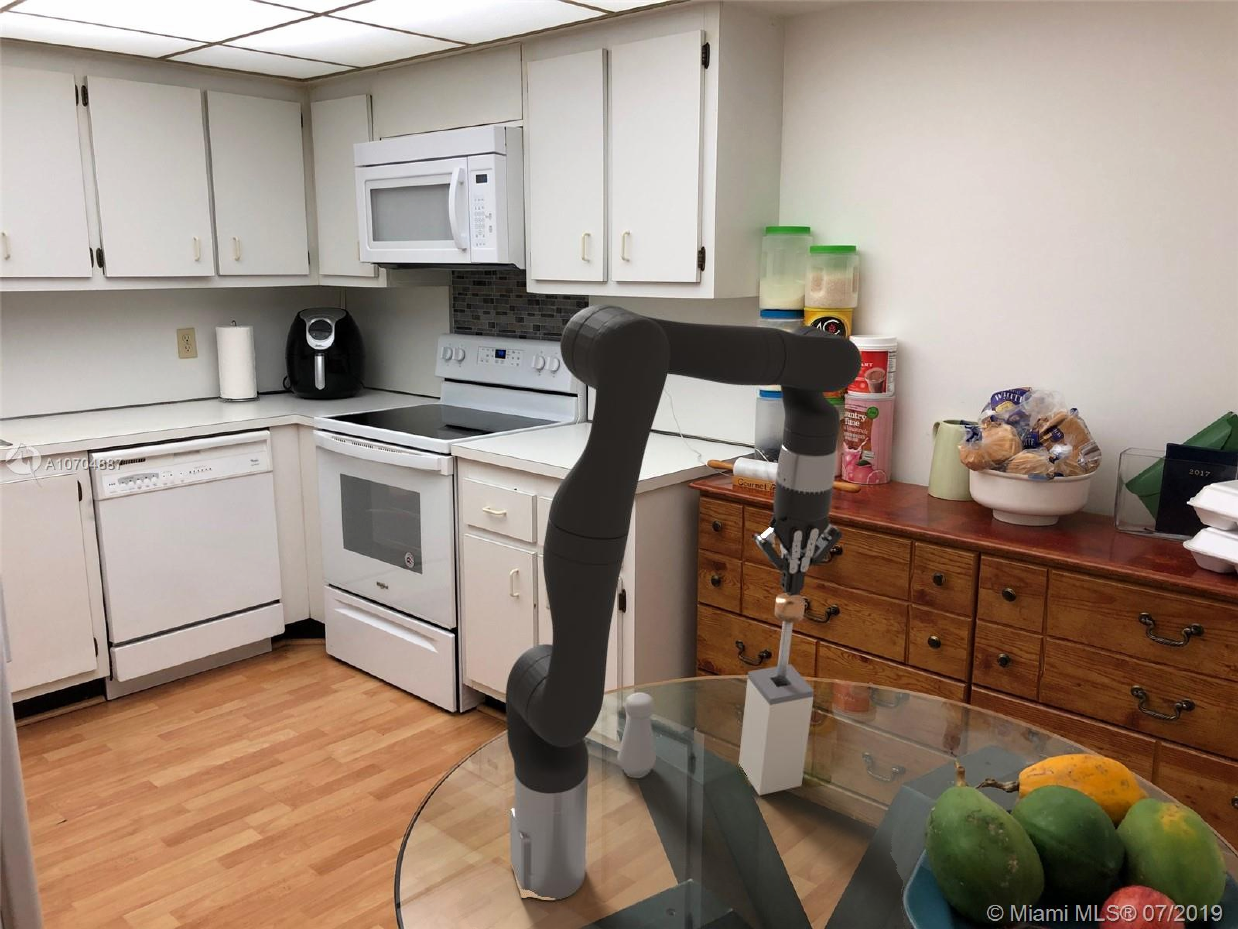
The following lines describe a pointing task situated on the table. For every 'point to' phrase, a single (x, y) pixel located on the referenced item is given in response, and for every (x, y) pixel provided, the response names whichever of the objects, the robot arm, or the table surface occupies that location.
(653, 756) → the salt shaker
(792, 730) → the press canister
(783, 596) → the plunger
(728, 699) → the table surface
